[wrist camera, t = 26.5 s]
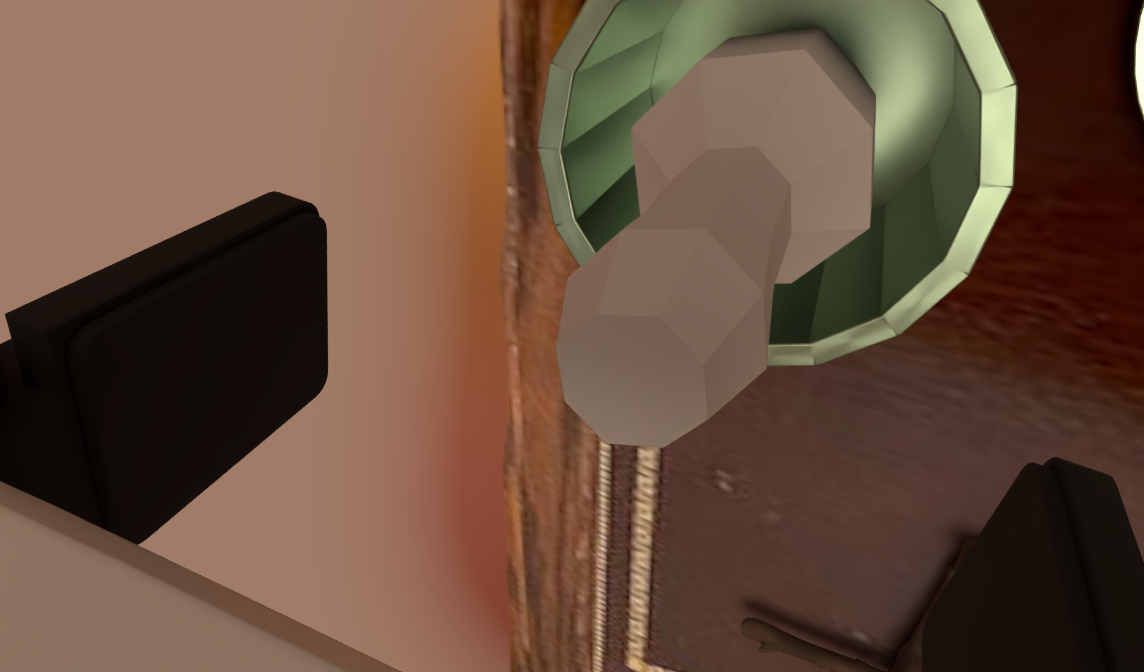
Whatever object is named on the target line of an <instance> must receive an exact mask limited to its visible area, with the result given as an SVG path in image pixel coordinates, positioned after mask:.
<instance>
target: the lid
mask: <svg viewBox="0 0 1144 672" xmlns="http://www.w3.org/2000/svg"><path fill="white" fill-rule="evenodd" d="M1129 73H1130V80H1131V87H1132V94H1133V99H1134V102H1135V105H1136V109H1137V112H1138V115H1139V118H1140V121H1141V123H1142V125H1143V127H1144V0H1139V2H1138V5H1137V8H1136V11H1135V15H1134V21H1133V27H1132V33H1131V39H1130V61H1129Z"/></svg>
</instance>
